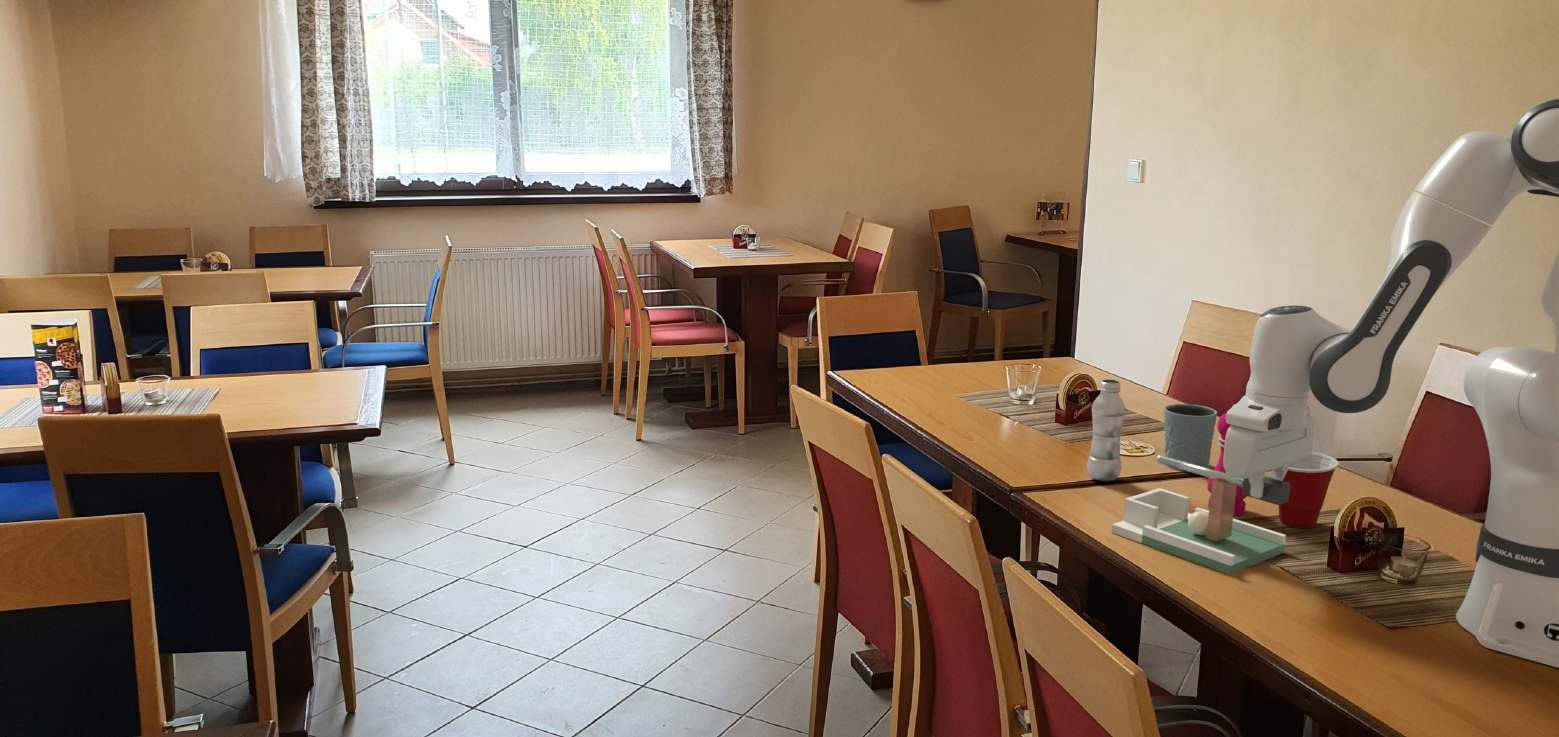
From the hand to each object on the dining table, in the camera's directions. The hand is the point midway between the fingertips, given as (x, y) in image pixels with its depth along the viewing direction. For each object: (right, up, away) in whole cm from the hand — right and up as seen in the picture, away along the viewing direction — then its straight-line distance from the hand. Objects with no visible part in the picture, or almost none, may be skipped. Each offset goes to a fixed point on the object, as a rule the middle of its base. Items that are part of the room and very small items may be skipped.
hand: (1265, 493), depth 169 cm
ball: (-6, -6, +10) cm, 13 cm away
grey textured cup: (+8, -1, +53) cm, 54 cm away
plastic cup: (+15, -8, +21) cm, 27 cm away
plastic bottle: (-12, -2, +43) cm, 45 cm away
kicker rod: (-5, -8, +9) cm, 13 cm away
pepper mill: (+5, -6, +27) cm, 28 cm away
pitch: (-7, -9, +11) cm, 16 cm away
